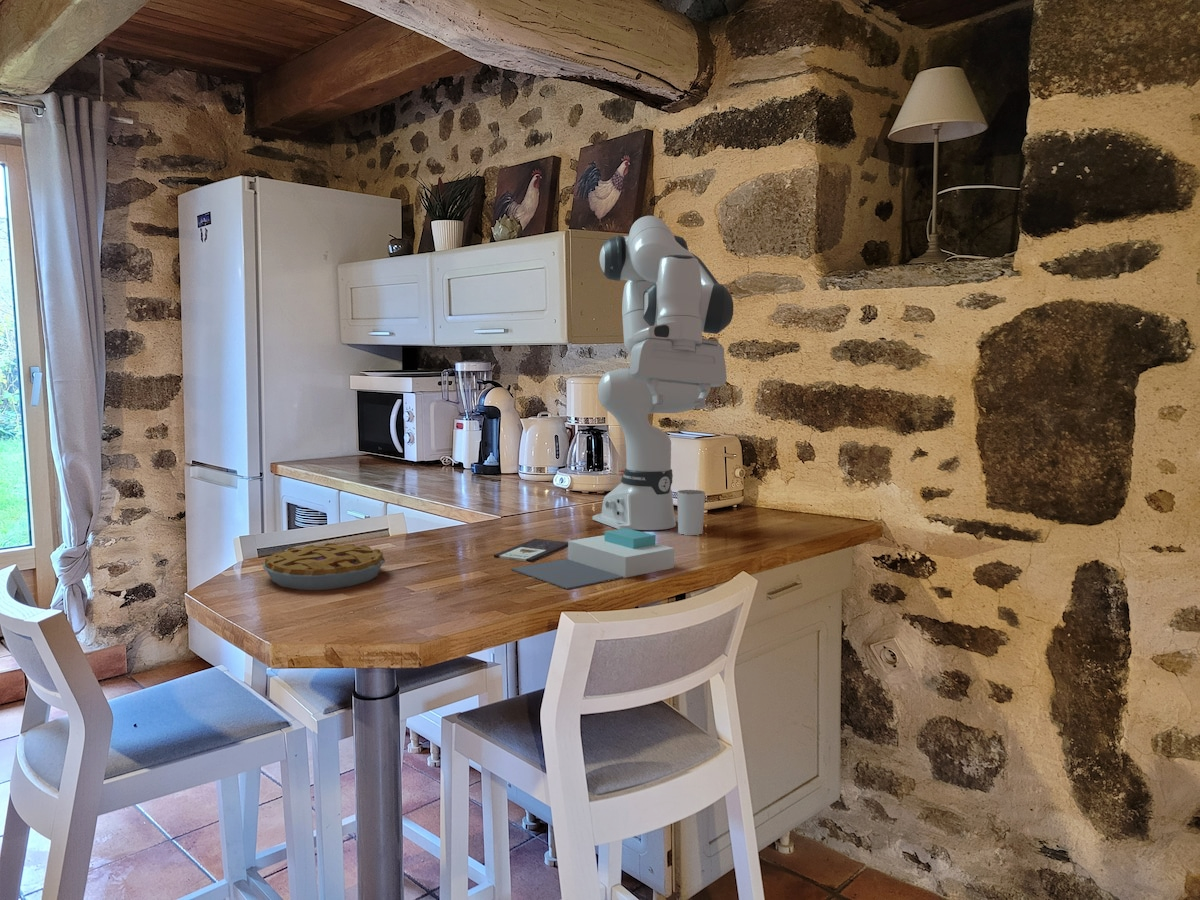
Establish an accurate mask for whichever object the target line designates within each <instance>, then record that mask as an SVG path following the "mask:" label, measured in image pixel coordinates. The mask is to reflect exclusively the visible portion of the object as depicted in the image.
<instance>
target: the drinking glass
mask: <svg viewBox="0 0 1200 900" xmlns="http://www.w3.org/2000/svg"><path fill="white" fill-rule="evenodd" d="M676 494H677V495H676V496H677V527H678V528H677V533H678V535H681V534H684V535H683V536H687V535H697V536H700V535H699V534H702V535H703V528H704V517H705V516H704V515H705V504H706V503H705V502H706V492H705V491H703V490H698V489H682V490H681V489H680V490H677V493H676Z"/></svg>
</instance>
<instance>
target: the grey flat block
mask: <svg viewBox="0 0 1200 900" xmlns="http://www.w3.org/2000/svg"><path fill="white" fill-rule="evenodd" d="M604 538H605V534H604V535H603V534H602V535H597V536H591V537H584V538H578V539H573V540H567V542H568V546H567V548H568V549H567V559H569V560H572V561H575V562H578V563H581V564H585V565H588V566H591V567H594V568H597V569H601V570H604V571H607V572H610V573H613V574H617V575H620V576H623V578H630V577H636V576H640V575H644V574H649V573H650V574H651V573H655V572H656V573H657V572H660V571H664V570H668V569H669V570H670V569H674V568H675V548H674V547H672V546H667V545H663V544H658V543H656V542H655V545H652V546H647V547H641V548H635V549H632V548H628V547H625V546H621V545H617V544H614V543H610V542H606V541H604Z"/></svg>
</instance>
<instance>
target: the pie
mask: <svg viewBox="0 0 1200 900" xmlns="http://www.w3.org/2000/svg"><path fill="white" fill-rule="evenodd" d="M385 562H386V559H385V557H384V552H382V551H381V549H378V548H375V549H372V548H371V547H370V546H368V545H365V544H362V545H360V546H357V545H355V544H353V543H352V544H351V543H349V544H348V543H347V544H344V545H342V544H341V545H338V544H336V543H328V542H327V543H325V545H320V546H317V545H314V544H312V545H311V544H309V545H306V546H304V547H301V548H296V547H288V548H287V549H286V551H282V552H280V551H278V552H275V553H272V554H271V555H270V556H266V557H265V559H264V561H263V566H262V569H263V570H264V571H266V572H267V574H268V575H269V577H270V579H271V580H272V582H273V583H275V584H277V585H278V586H279V587H283V588H288V589H293V590H300V591H301V590H304V591H305V590H306V591H321V590H334V589H339V588H340V589H341V588H346V587H351V586H357V585H359V584H363V583H366V582H370V581H372V580H373V579H374V578H376V577H378V574H379V573H380V572H379V571H380V570H381V567H382V565H383V564H384V563H385Z"/></svg>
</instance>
